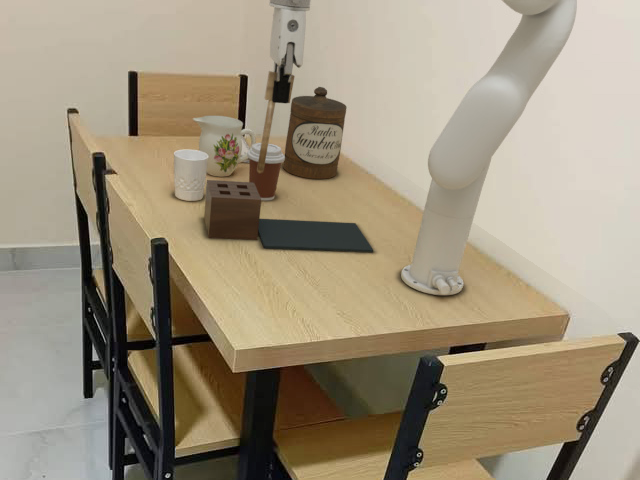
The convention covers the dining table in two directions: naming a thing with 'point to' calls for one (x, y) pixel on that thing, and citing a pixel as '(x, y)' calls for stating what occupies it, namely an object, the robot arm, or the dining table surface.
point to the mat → (312, 235)
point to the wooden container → (314, 136)
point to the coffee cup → (265, 170)
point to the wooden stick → (269, 118)
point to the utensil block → (232, 210)
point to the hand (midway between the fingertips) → (279, 101)
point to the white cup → (190, 174)
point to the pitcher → (222, 143)
